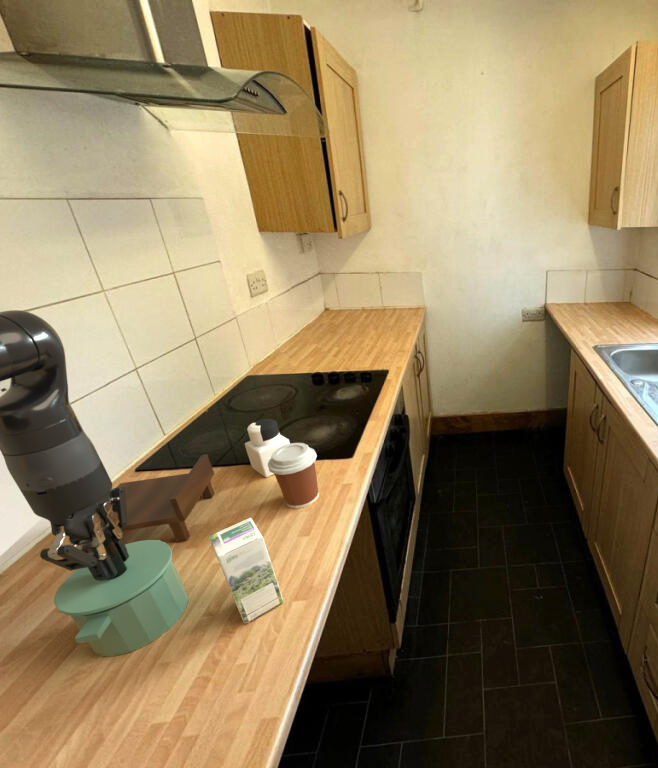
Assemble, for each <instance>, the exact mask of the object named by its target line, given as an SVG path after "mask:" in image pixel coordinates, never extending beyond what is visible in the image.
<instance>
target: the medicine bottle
mask: <svg viewBox="0 0 658 768" xmlns="http://www.w3.org/2000/svg"><path fill="white" fill-rule="evenodd" d="M278 426H279V425H278V423H277V421H276V420H275V419H272V418H263V419H259V420H255V421H253V422H251V423H250V424H248V426H247V428H246V429H247V434H248V437H249V441H247V442H245V443H244V447H245V450H246V453H247V457H248V459H249V462H250V466H251V469H253V470H254V471H256V472H257V473H259V474H260V475H261V476H262V477H264V478H269V477H271V476H273V475H275V474H274V473H272V472H270V471H269V468H268V465H267V464H268V462H269V460H270V459H271V456H272V454H273V452H274V451H276V450H277V449H278V448H280V447H282V446H284V445H288V444H291V442H290V439H289V438H287V437H285V436H284V435H282V434H281V432H280V430H279V427H278Z"/></svg>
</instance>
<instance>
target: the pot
mask: <svg viewBox="0 0 658 768" xmlns="http://www.w3.org/2000/svg"><path fill="white" fill-rule="evenodd" d="M157 540H158V541H161V539H157ZM188 603H189V595H188V592H187V589H186V587H185V584H184V583H183V581H182V579H181V576H180V574H179V572H178V570H177V568H176V566H175V563H174V562H173V559H172V560H171V563H170V565H169V566H168V568H167V569H166V571H165V572H164V573H163V574H162V575H161V576H160V577H159V578H158V579H157V580H156V581H155V582H154V583H153V584H152V585H151V586H149V587H148V588H147V589H145V590H144V591H142V592H141V593H139V594H138V595H136V596H134V597H133V598H131V599H129V600H127V601H125V602H123V603H121V604H119V605H117V606H115V607H112V608H109V609H107V610H104V611H101V612H97V613H93V614H88V615H81V616H70V619H72V621H73V623H74V624H75V626H76V628H77V629H78V633H77V634H76V636H75V637H74V640H75V642H76V643H77V644H82V643H87V644H88V646H89V647H90V648H91V649H92V651H93V652H94V653H95V654H96V655H98V656H102V657H117V656H122V655H126V654H129V653H131V652H135V651H137V650H139V649H141V648H144V647H145V646H147V645H149V644H151V643H152V642H154V641H156V640H157V639H159V638H160V637H161V636H163V635H164V634H166V633H167V632H168V631H169V630H170V629H171V628H172V627H173V626H174V625H175V624H176V623H177V622H178V621H179V619H181V617H182V615H183V614H184V612H185V611H186V610H187V609H186V608H187V606H188Z"/></svg>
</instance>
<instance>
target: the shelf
mask: <svg viewBox="0 0 658 768" xmlns="http://www.w3.org/2000/svg"><path fill="white" fill-rule="evenodd" d="M214 476H215V471H214V468H213V466H212V463H211V460H210V457H209V455H208V453H205V454H202V455H201V456H200V457H199V458H198V460H197V461H196V463H195V464H194V465H193V467H192V468H191V470H190V471H189V472H188V473H181V474H180V473H179V474H174V475H168V476H160V477H154V478H146V479H140V480H134V481H126V482H120V483H119V484H118V485H117V486H116V487H124V489H125V497H126V508H127V519H128V524H127V526H126V527H122V530H121V531H122V532H128V531H133V530H139V529H140V530H141V529H146V528H151V527H157V526H163V525H168V526H169V528H170V530H171V532H172V535H173V537H174V539H175V541H176V543H177V544H178V543H183V542H187V541H188V540H189V538H190V537H191V534H190V531H189V529H188V526H187V525H186V520H187V519H188V517H189V516H190V514H191V512H192V511H193V509H194V508H195V506H196V505H197V503H198V501H199V499H200V498H201V497H202V498H203V500H206V499H212V498H213V497H214V495H215V490H214V487H213V485H212V483H211V481H212V479H213V477H214ZM114 513H115V515H116V516H117V518H118V513H117V512H114ZM87 551H88V553H91V552H90V550H89V548H87Z"/></svg>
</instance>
